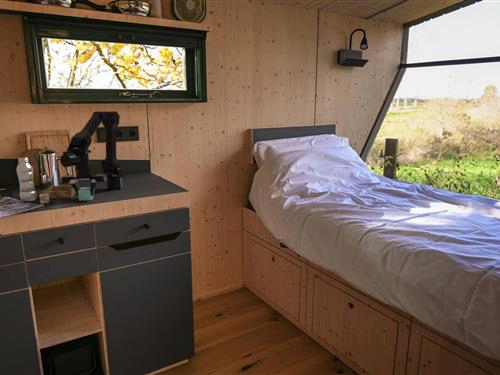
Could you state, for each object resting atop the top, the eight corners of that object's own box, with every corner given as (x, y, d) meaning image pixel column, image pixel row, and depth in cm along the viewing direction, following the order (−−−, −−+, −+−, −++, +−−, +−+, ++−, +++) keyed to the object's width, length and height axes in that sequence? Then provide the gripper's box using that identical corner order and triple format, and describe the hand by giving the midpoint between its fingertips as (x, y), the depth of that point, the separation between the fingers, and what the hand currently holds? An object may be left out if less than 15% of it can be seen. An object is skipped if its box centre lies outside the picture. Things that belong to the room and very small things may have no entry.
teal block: (93, 197, 176) (92, 187, 174) (90, 200, 171) (89, 189, 170) (82, 198, 175) (81, 187, 174) (79, 200, 170) (78, 190, 169)
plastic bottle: (24, 199, 172) (18, 156, 168) (40, 199, 173) (34, 156, 168) (17, 203, 166) (11, 158, 161) (33, 202, 166) (27, 158, 162)
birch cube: (49, 201, 170) (48, 193, 169) (49, 202, 167) (48, 195, 166) (40, 202, 168) (39, 194, 167) (40, 203, 165) (39, 196, 164)
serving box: (79, 191, 187) (78, 185, 186) (71, 198, 174) (70, 191, 173) (52, 192, 185) (51, 185, 184) (41, 199, 172) (40, 192, 172)
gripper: (108, 160, 178) (110, 192, 182) (67, 161, 176) (70, 193, 179) (102, 164, 167) (105, 197, 171) (58, 165, 165) (62, 199, 168)
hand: (86, 196), depth 173 cm, fingers open, 5 cm apart
